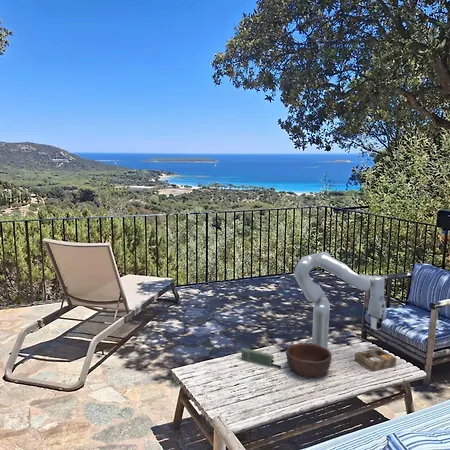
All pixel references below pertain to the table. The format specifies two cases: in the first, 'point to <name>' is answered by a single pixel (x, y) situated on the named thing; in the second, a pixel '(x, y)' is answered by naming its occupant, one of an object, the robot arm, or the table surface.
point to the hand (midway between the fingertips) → (375, 326)
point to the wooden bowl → (308, 359)
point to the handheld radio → (258, 357)
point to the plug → (374, 322)
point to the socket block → (375, 359)
